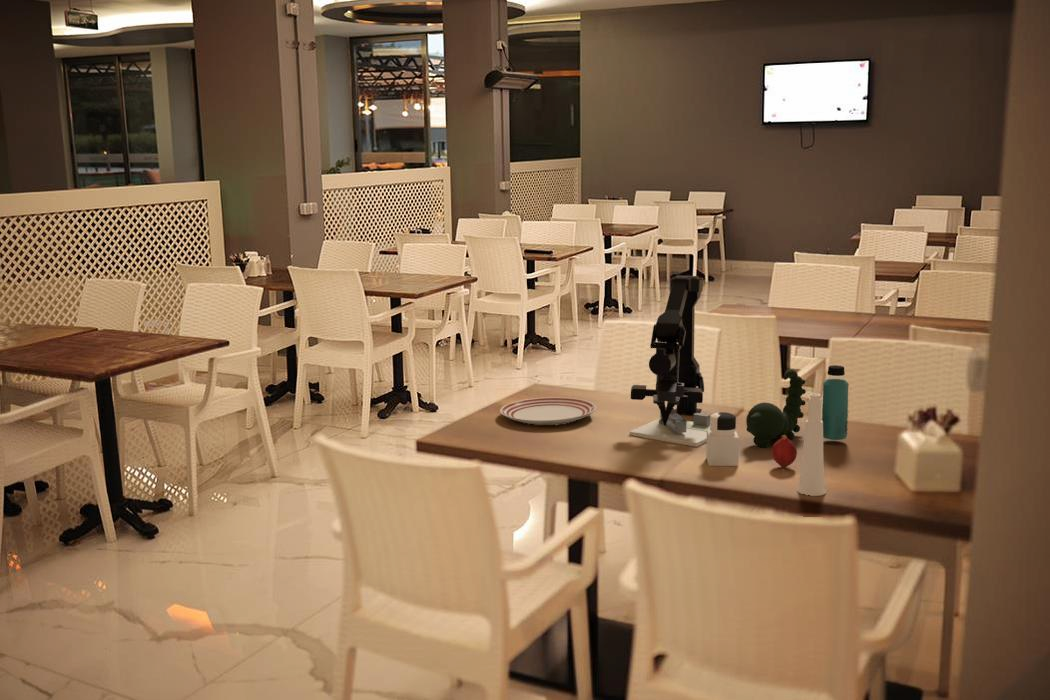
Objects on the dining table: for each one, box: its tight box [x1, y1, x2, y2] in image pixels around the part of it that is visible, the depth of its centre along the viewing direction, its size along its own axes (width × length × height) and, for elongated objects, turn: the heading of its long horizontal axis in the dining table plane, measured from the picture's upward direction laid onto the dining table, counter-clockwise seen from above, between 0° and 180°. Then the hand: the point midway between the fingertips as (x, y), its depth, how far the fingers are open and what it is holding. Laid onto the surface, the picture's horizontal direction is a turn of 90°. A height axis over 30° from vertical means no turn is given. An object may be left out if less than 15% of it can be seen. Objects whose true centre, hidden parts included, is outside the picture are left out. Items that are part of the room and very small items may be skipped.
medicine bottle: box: [705, 411, 740, 467], centre depth 244 cm, size 7×7×12 cm
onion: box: [770, 435, 798, 469], centre depth 239 cm, size 6×6×8 cm
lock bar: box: [659, 406, 687, 433], centre depth 272 cm, size 15×4×3 cm, turn 8°
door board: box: [629, 412, 711, 448], centre depth 271 cm, size 18×20×4 cm
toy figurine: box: [745, 368, 807, 448], centre depth 260 cm, size 9×19×25 cm
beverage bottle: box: [821, 365, 850, 441], centre depth 258 cm, size 6×7×20 cm
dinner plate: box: [499, 396, 597, 426], centre depth 289 cm, size 28×27×3 cm
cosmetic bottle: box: [796, 393, 827, 497], centre depth 221 cm, size 6×6×22 cm
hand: (665, 425), depth 269 cm, fingers closed
